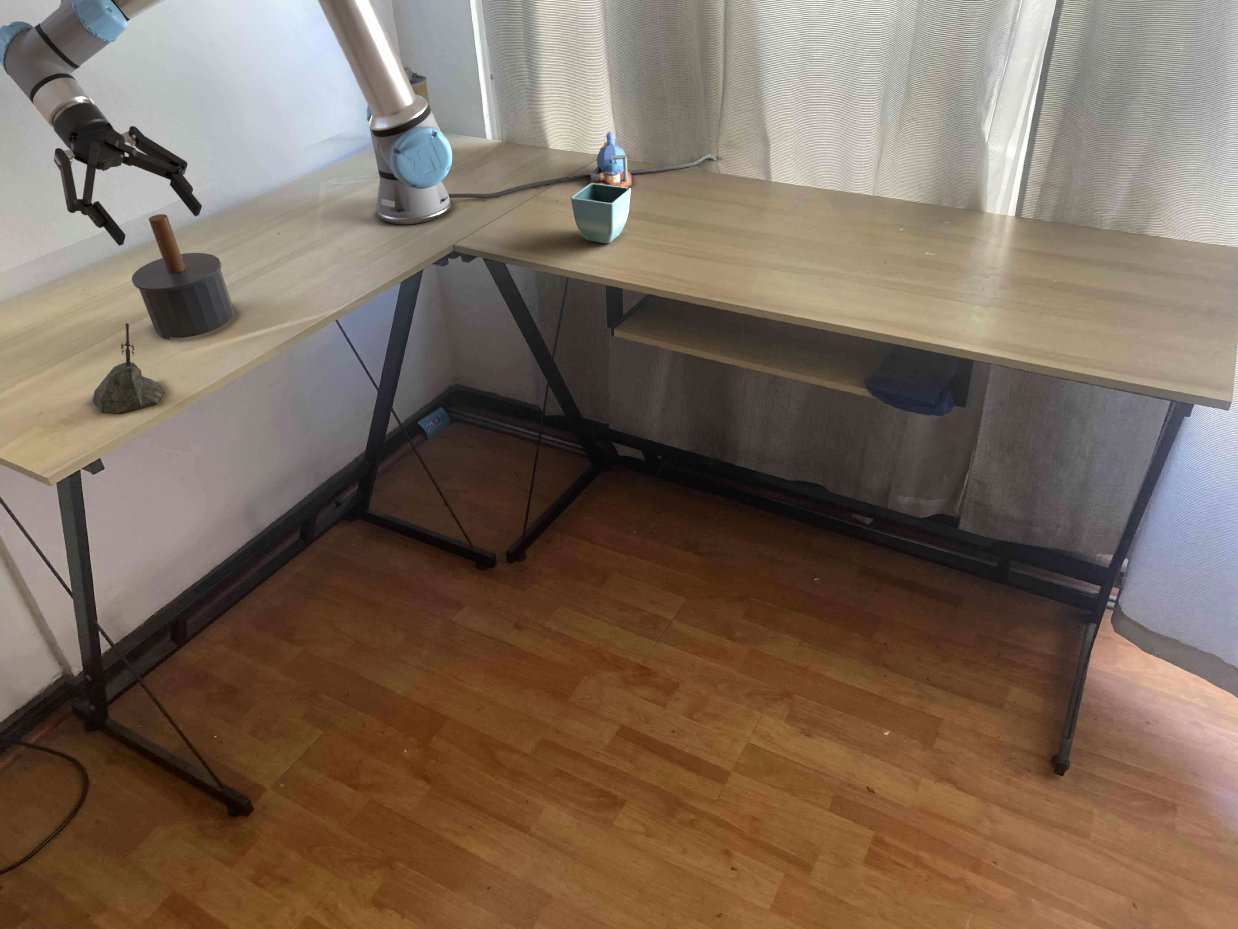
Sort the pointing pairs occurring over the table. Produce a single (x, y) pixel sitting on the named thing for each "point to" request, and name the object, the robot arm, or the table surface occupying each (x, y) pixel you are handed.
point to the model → (611, 165)
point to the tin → (190, 308)
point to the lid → (173, 263)
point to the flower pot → (601, 211)
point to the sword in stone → (126, 387)
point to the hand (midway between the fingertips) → (161, 225)
